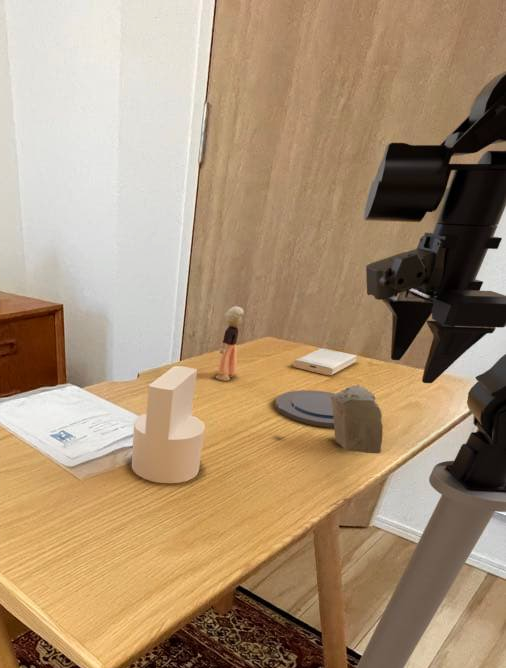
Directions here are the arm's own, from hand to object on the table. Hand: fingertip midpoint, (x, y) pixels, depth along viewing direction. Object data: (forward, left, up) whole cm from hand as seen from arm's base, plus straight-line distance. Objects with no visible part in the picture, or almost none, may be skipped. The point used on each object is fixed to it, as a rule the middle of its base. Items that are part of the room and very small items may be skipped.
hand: (410, 370), depth 62 cm
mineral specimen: (+3, -4, -12) cm, 13 cm away
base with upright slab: (+30, +6, -12) cm, 33 cm away
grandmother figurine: (+17, -33, -12) cm, 39 cm away
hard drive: (-5, -43, -12) cm, 45 cm away
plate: (+3, -17, -12) cm, 21 cm away
